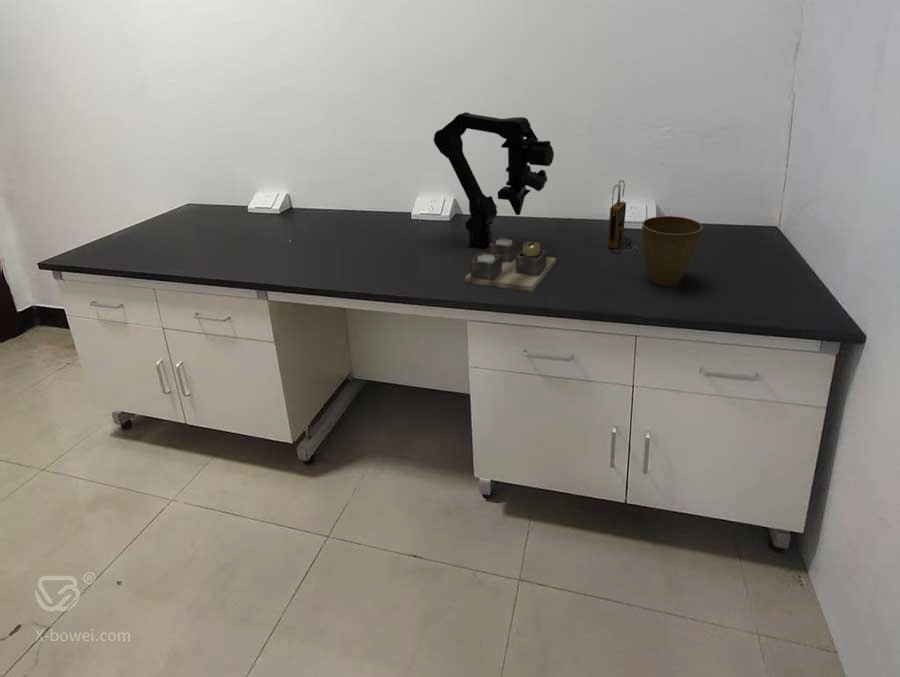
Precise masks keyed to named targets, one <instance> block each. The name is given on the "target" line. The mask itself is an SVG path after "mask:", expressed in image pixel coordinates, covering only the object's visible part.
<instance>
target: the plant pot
mask: <svg viewBox="0 0 900 677" xmlns="http://www.w3.org/2000/svg"><path fill="white" fill-rule="evenodd" d="M703 228H704V227H703V225H702V224H701V223H700V222H698V221H696V220H694V219H690V218H687V217H684V216H683V217H681V216H675V215H673V216H672V215H665V216H664V215H663V216H662V215H661V216H655V217H654V216H653V217H650V218H646V219H644V220H643V221H642V228H641V230H642V245H643V252H644V259H645V265H646V269H647V272H648V277H649V279H650V281H651V282H652V283H653V284H655V285H659V286H664V287H665V286H675V285H676V284H678V283H679V281H680V280H681V278H682V277H683V274H684V273H685V271H686V269H687V268H688V265H689V264H690V262H691V259H692V257H693V255H694V253H695V251H696V248H697V245H698V242H699V239H700V237H701V233H702V230H703Z"/></svg>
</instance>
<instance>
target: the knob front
mask: <svg viewBox="0 0 900 677" xmlns="http://www.w3.org/2000/svg"><path fill="white" fill-rule="evenodd" d="M494 260H495V257H494V256H493V255H481V256H478V257H477V261H480V262H488V263H492V262H493V261H494Z"/></svg>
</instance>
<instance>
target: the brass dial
mask: <svg viewBox="0 0 900 677" xmlns="http://www.w3.org/2000/svg"><path fill="white" fill-rule="evenodd" d="M540 250H541V243H540V242H537V241H526V242H523V243H522V250H521V251H522V257H531V258H538V257H539V256H540Z"/></svg>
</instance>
